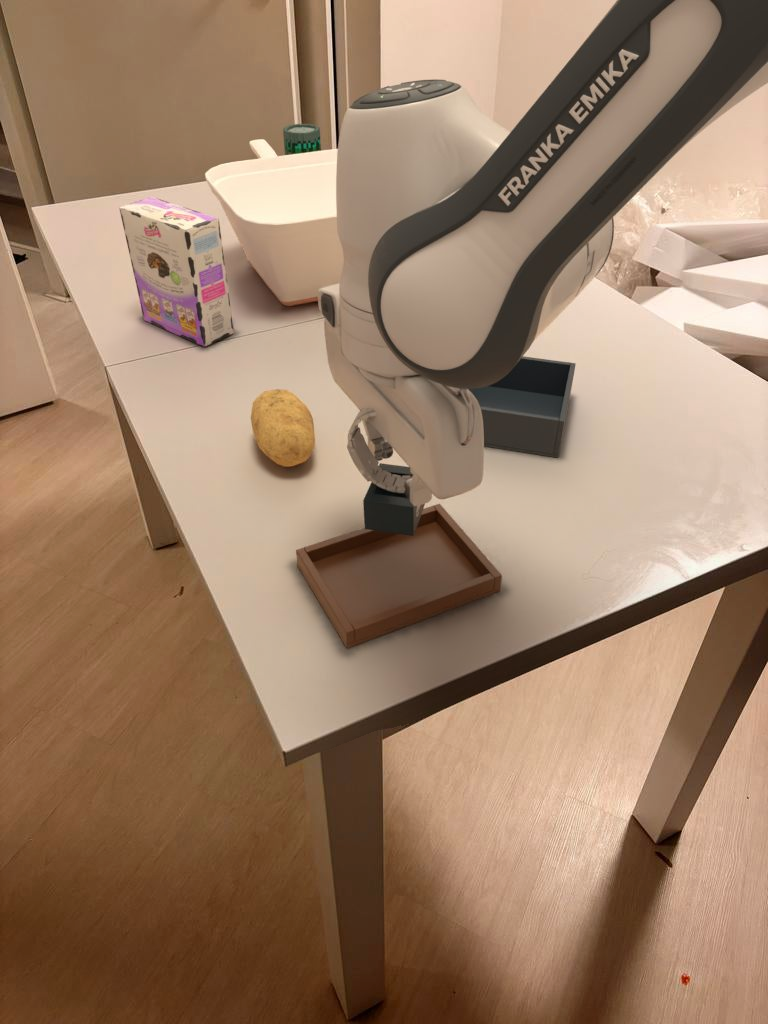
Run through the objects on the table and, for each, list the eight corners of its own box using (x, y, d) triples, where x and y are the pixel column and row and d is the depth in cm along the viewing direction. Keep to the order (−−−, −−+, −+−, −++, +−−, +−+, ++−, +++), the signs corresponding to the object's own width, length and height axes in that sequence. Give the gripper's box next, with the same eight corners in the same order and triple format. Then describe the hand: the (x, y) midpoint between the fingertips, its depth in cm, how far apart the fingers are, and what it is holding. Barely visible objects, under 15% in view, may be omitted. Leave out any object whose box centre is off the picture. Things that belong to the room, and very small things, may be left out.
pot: (260, 334, 113) (249, 229, 103) (187, 228, 144) (173, 139, 134) (441, 298, 122) (446, 198, 112) (335, 205, 153) (332, 121, 143)
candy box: (236, 333, 113) (221, 216, 103) (204, 349, 110) (185, 229, 99) (173, 306, 120) (152, 193, 109) (141, 320, 116) (116, 205, 106)
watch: (436, 539, 68) (438, 429, 61) (345, 526, 69) (337, 417, 63) (448, 499, 72) (452, 392, 65) (362, 488, 74) (357, 382, 67)
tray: (438, 518, 82) (439, 503, 81) (500, 590, 74) (502, 575, 73) (296, 565, 77) (295, 549, 76) (346, 648, 69) (346, 633, 68)
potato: (304, 421, 96) (300, 375, 92) (327, 474, 88) (324, 426, 84) (248, 430, 95) (242, 384, 90) (266, 486, 86) (261, 438, 82)
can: (298, 223, 146) (292, 135, 136) (285, 213, 150) (278, 126, 140) (328, 217, 148) (324, 130, 138) (314, 207, 152) (310, 122, 143)
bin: (569, 397, 100) (575, 363, 97) (558, 458, 90) (564, 421, 87) (465, 383, 103) (468, 348, 100) (443, 439, 93) (445, 403, 90)
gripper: (515, 382, 53) (496, 538, 62) (378, 268, 67) (379, 409, 76) (431, 405, 51) (424, 563, 60) (308, 282, 65) (317, 426, 74)
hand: (398, 476), depth 68 cm, fingers closed on watch, 5 cm apart
